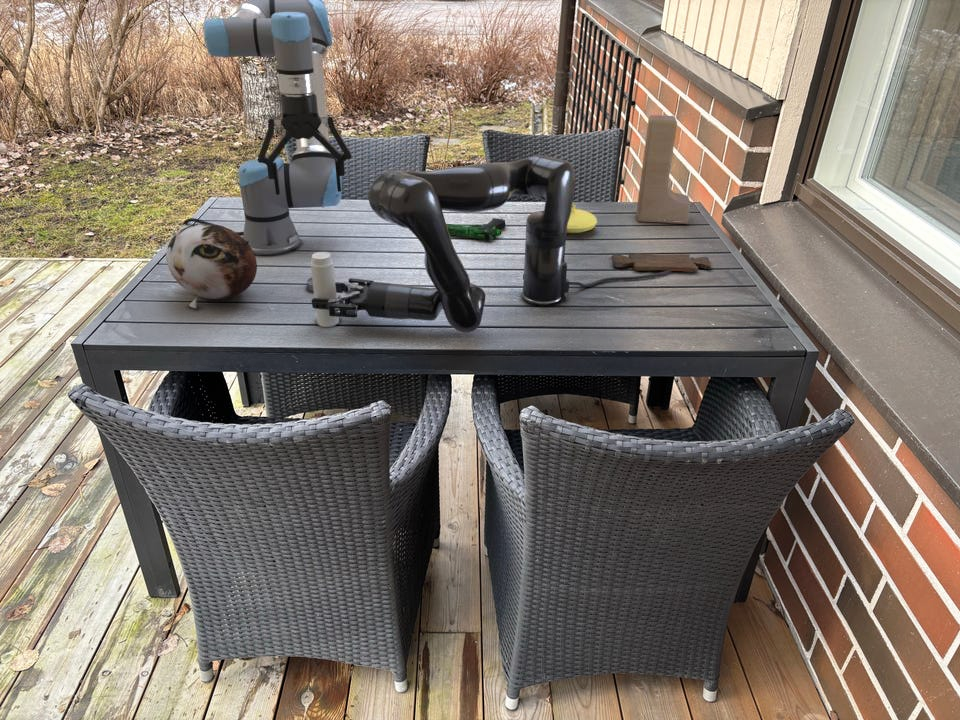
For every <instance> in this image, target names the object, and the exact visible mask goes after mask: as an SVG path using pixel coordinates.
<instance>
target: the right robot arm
mask: <svg viewBox="0 0 960 720" xmlns="http://www.w3.org/2000/svg"><path fill="white" fill-rule="evenodd" d="M575 187H576V171H575V168H574V166H573V164H572V163H571V162H570V161H567V160H564V159H559V158H556V157H553V156H552V157H551V156H547V155H541V154H540V155H539V154H537V155H531V156H528V157H524V158H521V159H517V160H513V161H508V162H505V161H504V162H502V161H501V162H500V161H499V162H483V163H475V164H467V165H461V166H453V167H446V168H441V169H435V170H423V171H422V170H421V171H420V170H418V171H417V170H389V171H386V172H384V173H382V174H381V175H379V176H378V177H377V178H376V179H375V180H374V181H373V182H372V184H371V186H370V188H369V190H368V195H367V196H368V203H369V206H370V209H372V212H374V214H375V215H377V217H379V218H380V219H382V220H383V221H386V222H388V223H391V224H393V225H396V226H398V227H401V228H404V229H408V230H409V231H410V232H411V233H412V234H413V235H414V236H415V237H416V238H417V240H418V241H419V243H420V244H421V246H422V247H423V250H424V256H423V257H424V258H423V259H424V260H423V262H424V263H423V264H424V268H425V271H426V274H427V276H428V278H429V279H430V281H431V283H432V284H433V286H434V287H425V286H413V285H407V284H403V283H390V282H381V281H380V282H379V281H374V280H373V279H372V280H371V279H363V278H362V279H361V278H354V277H353V278H352V277H350V278H348V280H345V281H343V282H340V281H335V285H336V294H340V295H338V296H337V298H336V299H331V300H329V299H322V298H314V297H313V298H312V299H311V307H312V309H315V310H316V309H325V310H329V316H336V317H339V318H354V319H355V318H357V317H358V312H359V311H365V312H366V313H367V315H368V316H369V317H372V318H380V319H381V318H382V319H391V320H392V319H393V320H417V321H427V322H428V321H429V322H430V321H435V320H436V319H437V318H438V317H439V316H440V314H441V312H442V311H443V313H444V316H445V319H446V320H447V322H448V324H449V325H450V326H451V327H452V328H453V329H454V330H456V331H458V332H460V333H464V334H465V333H466V334H467V333H469V334H470V333H472V332H475V331H476V330H477V329H478V328H479V327H480V325H481V323H482V318H483V314H484V308H485V303H486V292H485V291H484V289H483V288H481V287H480V286H478V285H476V284H474V283H471V280H470V276H469V274H468V272H467V270H466V268H465V266H464V265H463V262H462V261H461V258H460V257H459V255H458V253H457V251H456V249H455V246H454V244H453V240H452V238H451V235H449V231H448V228H447V225H446V224H447V221H446V219H445V215H444V211H445V212H453V213H454V212H455V213H467V214H468V213H469V214H471V213H480V212H481V213H482V212H487V211H491V210H492V211H493V210H495V209H498V208H500V207H502V206H503V205H505V204H506V203H507V201H508V200H509V199H510V198H511V197H516V196H527V197H531V198H535V199H538V200H541V201H544V209H543V210H539V211H534V212H532V213H530V214H529V215H528V216H527V218H526V223H525V240H524V241H525V245H524V262H523V274H522V280H523V283H522V284H523V286H522V296H521V297H522V299H523V301H525V302H526V303H528V304H530V305H533V306H537V307H539V306H540V307H550V306H553V305H556V304H559V303H560V302H565V297H566V294H567V293H568V294H569V292H570V286H580V287H582V288H590V287H593V286H596V285H598V284H600V283H604V282H609V281H628V280H630V281H631V280H642V279H649V278H656V277H660V276H662V275H667V274H669V273H672V271H670V270H667V271H664V270H663V271H660V272H656V273H651V274H645V275H636V276H635V275H634V276H612V277H605V278H602V279H598V280H596V281H594V282H591V283H586V284H585V283H584V284H583V283H582V282H580V281H579V282H578V281H569V279H568V278H567V276H568V275H567V274H568V273H567V272H568V262H566V261H565V257H566V245H567V234H568V233H567V224H568V221H569V218H570V215H571V209H572V205H573V201H574V192H575ZM693 258H694V257H690V259H693ZM343 293H344V294H343ZM334 303H337V304H334ZM336 311H338V312H336Z"/></svg>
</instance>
